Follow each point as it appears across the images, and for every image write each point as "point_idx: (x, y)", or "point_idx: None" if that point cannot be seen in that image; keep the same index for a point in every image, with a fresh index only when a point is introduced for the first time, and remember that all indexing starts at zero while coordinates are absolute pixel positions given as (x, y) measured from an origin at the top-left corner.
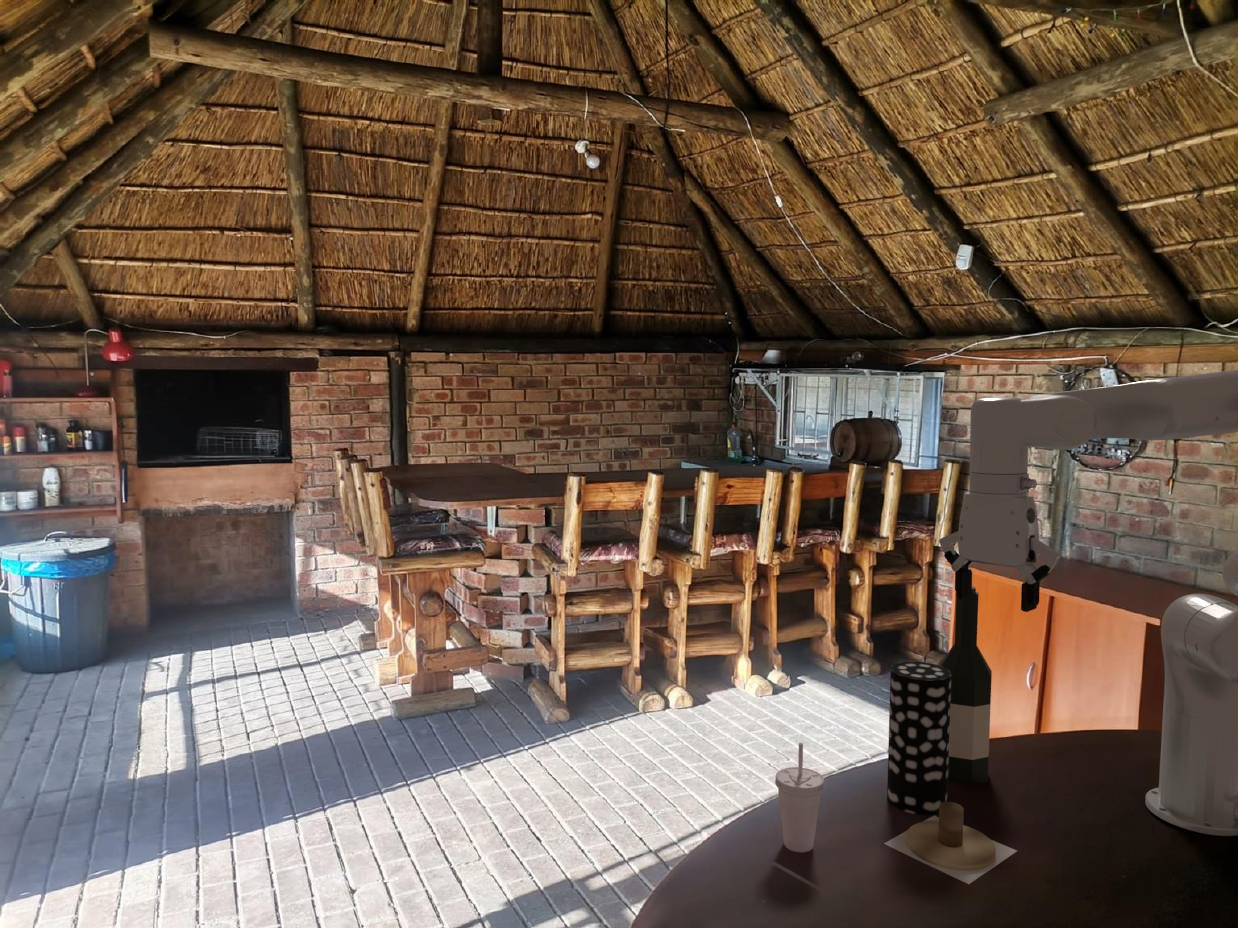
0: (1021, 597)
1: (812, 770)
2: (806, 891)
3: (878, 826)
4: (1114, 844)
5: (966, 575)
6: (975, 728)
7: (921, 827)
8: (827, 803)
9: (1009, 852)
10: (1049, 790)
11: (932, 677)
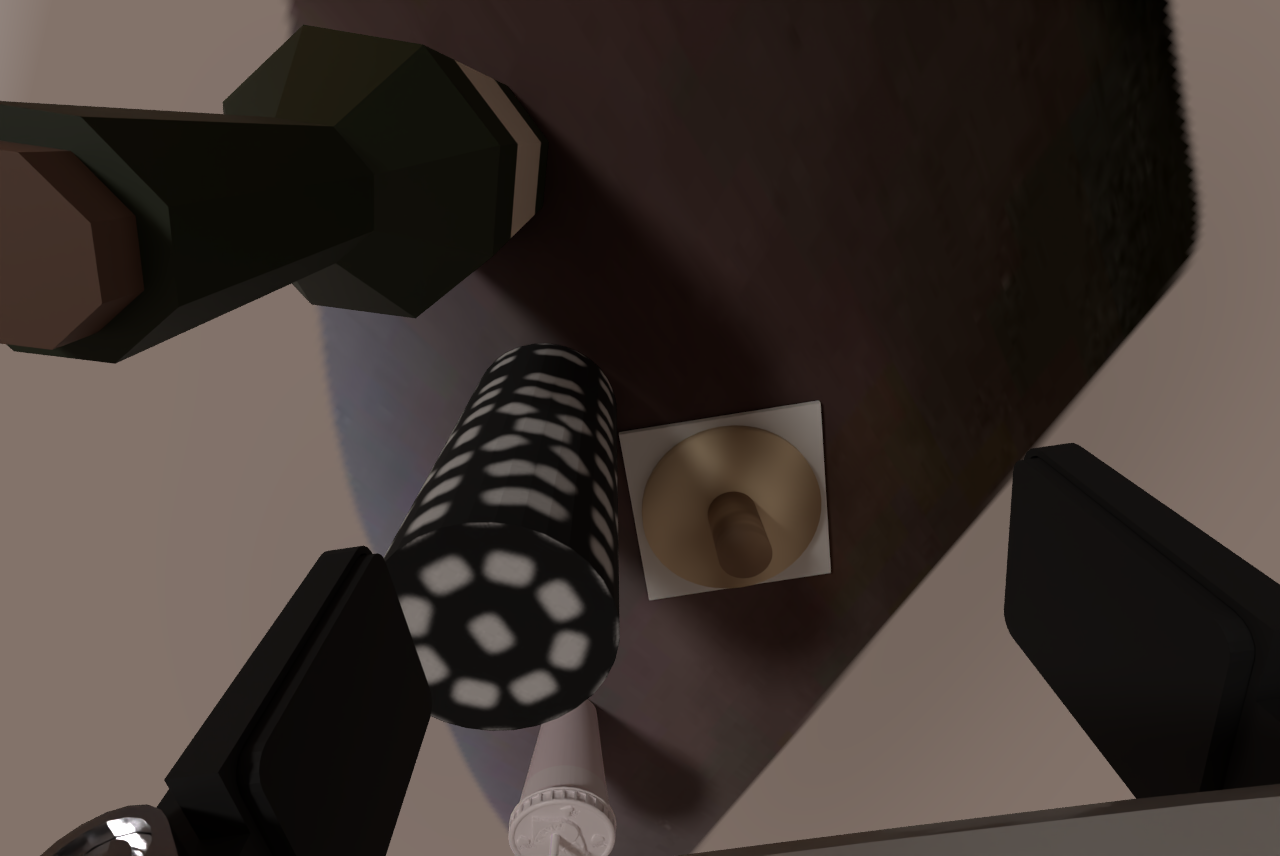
0: (1075, 715)
1: (547, 804)
2: (683, 772)
3: None
4: (937, 159)
5: (327, 833)
6: (522, 216)
7: (659, 519)
8: None
9: (814, 422)
10: (675, 9)
11: (581, 653)
